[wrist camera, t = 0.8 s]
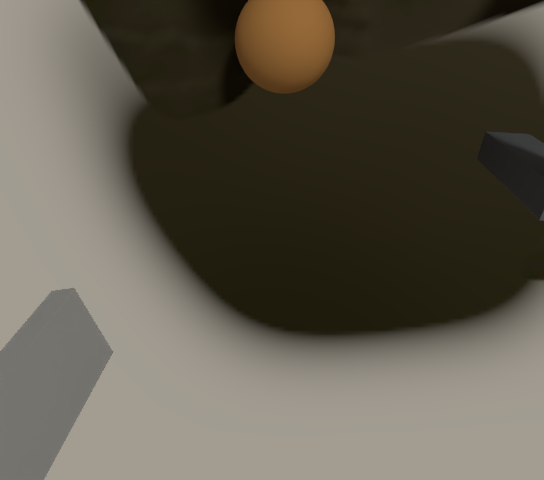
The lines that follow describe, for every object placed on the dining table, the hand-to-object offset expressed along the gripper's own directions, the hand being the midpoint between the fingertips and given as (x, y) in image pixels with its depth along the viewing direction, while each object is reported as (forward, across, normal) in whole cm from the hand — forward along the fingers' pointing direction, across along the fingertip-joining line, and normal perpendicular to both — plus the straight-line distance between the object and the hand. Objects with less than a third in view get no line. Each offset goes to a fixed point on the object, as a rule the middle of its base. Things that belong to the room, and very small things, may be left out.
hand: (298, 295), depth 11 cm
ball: (+18, 0, +5) cm, 19 cm away
